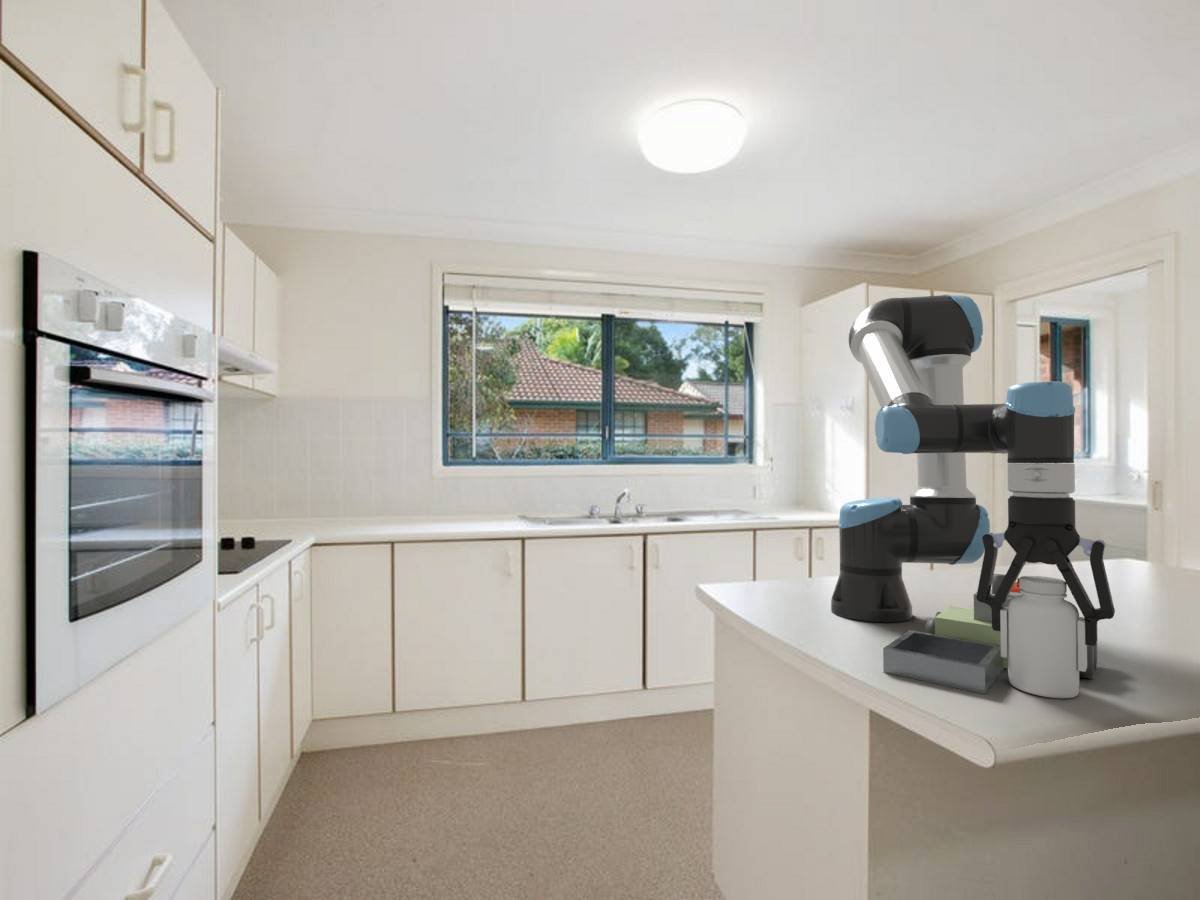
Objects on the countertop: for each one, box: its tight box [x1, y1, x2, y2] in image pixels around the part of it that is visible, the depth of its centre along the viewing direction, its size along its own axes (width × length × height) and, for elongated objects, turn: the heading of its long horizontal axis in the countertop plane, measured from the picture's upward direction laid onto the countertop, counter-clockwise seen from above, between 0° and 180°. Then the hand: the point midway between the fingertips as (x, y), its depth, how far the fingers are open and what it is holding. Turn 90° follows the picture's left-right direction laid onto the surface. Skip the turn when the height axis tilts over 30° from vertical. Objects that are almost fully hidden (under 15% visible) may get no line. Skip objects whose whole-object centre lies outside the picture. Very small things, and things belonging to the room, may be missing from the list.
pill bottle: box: [1007, 575, 1080, 699], centre depth 85 cm, size 8×8×15 cm
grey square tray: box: [882, 629, 1005, 695], centre depth 92 cm, size 13×13×4 cm
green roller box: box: [924, 573, 1098, 680], centre depth 98 cm, size 21×11×13 cm, turn 48°
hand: (1042, 661), depth 85 cm, fingers closed on pill bottle, 8 cm apart
